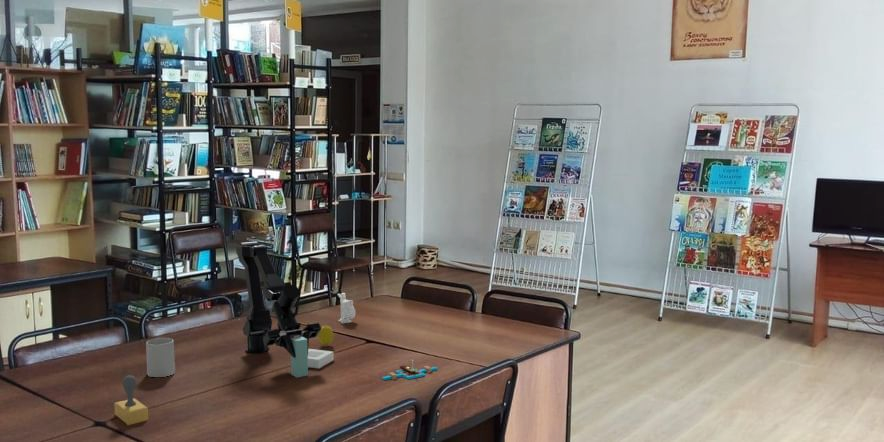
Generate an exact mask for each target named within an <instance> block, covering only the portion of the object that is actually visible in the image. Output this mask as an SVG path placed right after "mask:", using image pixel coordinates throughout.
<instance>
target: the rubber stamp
mask: <svg viewBox="0 0 884 442" xmlns="http://www.w3.org/2000/svg"><path fill="white" fill-rule="evenodd" d="M122 386H123V390H124V392H125V394H126V396H127V399H126V400H122V401H120V400H119V401H116V402H114V404H113V405H114V415H115V416H116V417H118V418H119V419H120V420H121V421H122V422H124V423H125V424H126V425H127V426H130V425H133V424H137V423H141V422H145V421H149V409H148V407H147V406H146V405H144V404H143V403H141V402H140V400H138V399H136V398H133V397H134V393H135V391H136V388H137V379H136V377H135V376H134V375H130V374H128V375H126V376H125V377H123V380H122Z"/></svg>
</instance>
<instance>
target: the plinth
mask: <svg viewBox="0 0 884 442" xmlns="http://www.w3.org/2000/svg"><path fill="white" fill-rule="evenodd" d="M333 361H334V351H330V350H323V349H315V348H314V349H313V348H308V368H312V369H321V368H323V367H324V366H327V365H328V364H329V363H331V362H333Z"/></svg>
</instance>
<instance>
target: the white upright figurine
mask: <svg viewBox="0 0 884 442" xmlns="http://www.w3.org/2000/svg"><path fill="white" fill-rule="evenodd" d="M337 297H338V298H339V299H340V300H339V303H340V318H339V319H338V322H339V323H341V324H350V323H352V322H353V321H352V319H353V318H355V316H356V313H357V311H356V308H355V307H354V300H352V299H350V300H349V299H347V298H346V292H342V293H337Z"/></svg>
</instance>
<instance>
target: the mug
mask: <svg viewBox="0 0 884 442" xmlns="http://www.w3.org/2000/svg"><path fill="white" fill-rule="evenodd" d="M174 343H175V342H174V339H173V338H169V337H157V338H152V339H149V340H146V343H145V349H146V351H145V353H146V375H148V376H151V377H164V376H169V377H171V376H170V375H172V376H173V374H174V375H175V374H176V373H175V372H176V363H175V362H176V360H175V344H174ZM148 376H147V377H148Z"/></svg>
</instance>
